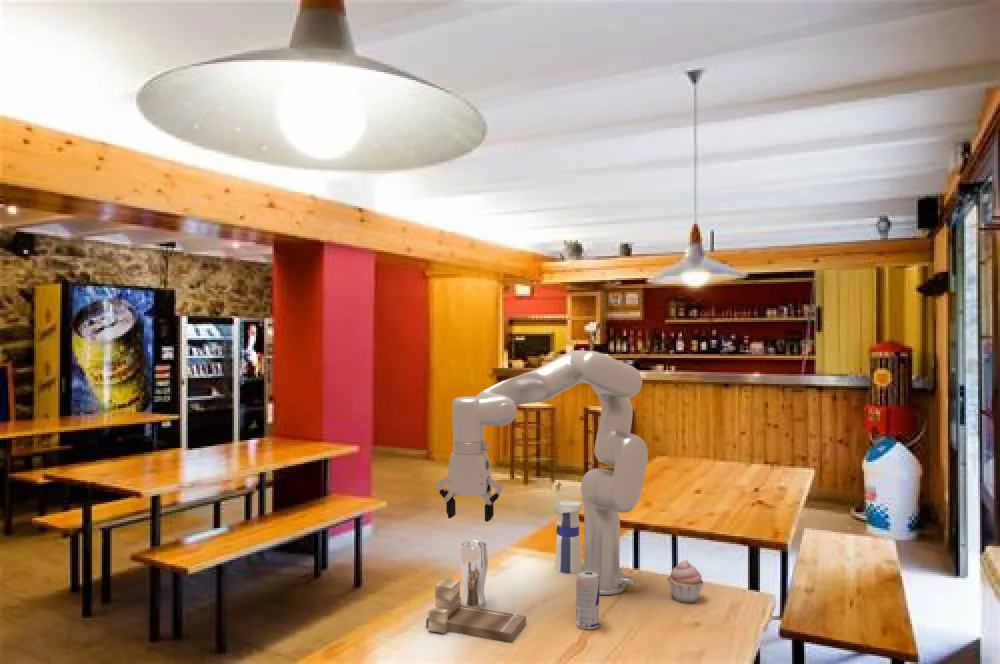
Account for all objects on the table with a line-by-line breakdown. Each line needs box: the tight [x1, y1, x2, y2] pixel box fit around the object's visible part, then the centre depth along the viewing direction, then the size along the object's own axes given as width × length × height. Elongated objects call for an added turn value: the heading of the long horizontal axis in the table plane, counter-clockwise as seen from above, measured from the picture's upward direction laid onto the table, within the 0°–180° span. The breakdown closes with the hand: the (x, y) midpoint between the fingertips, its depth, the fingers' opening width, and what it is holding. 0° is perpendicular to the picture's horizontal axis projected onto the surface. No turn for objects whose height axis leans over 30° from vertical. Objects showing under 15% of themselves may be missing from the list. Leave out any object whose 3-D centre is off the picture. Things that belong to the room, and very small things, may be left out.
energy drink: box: [575, 569, 600, 631], centre depth 158 cm, size 5×5×12 cm
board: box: [425, 605, 527, 643], centre depth 157 cm, size 21×10×2 cm, turn 69°
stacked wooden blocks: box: [427, 577, 462, 634], centre depth 158 cm, size 4×11×9 cm, turn 160°
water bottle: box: [554, 480, 584, 575], centre depth 195 cm, size 8×9×25 cm
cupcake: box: [667, 559, 705, 604], centre depth 174 cm, size 9×9×10 cm
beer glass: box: [459, 539, 489, 609], centre depth 170 cm, size 7×7×15 cm
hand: (469, 518), depth 163 cm, fingers open, 9 cm apart
